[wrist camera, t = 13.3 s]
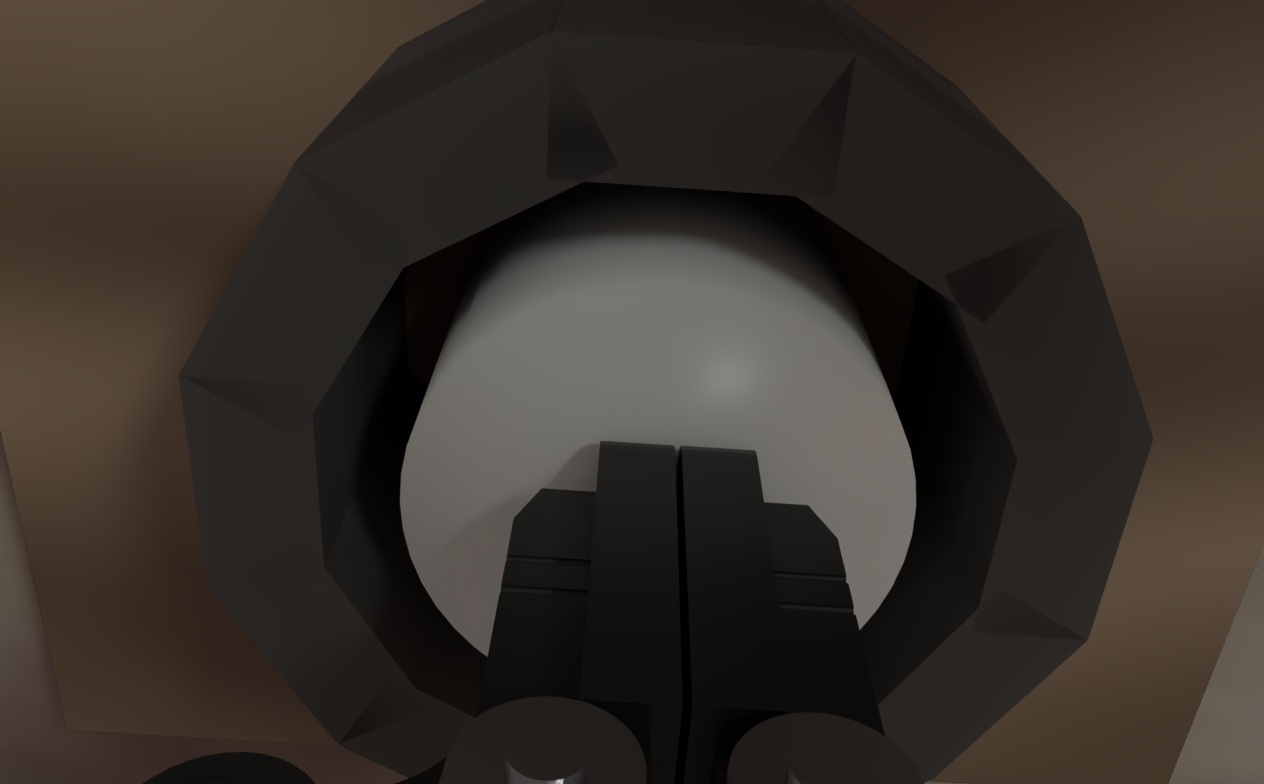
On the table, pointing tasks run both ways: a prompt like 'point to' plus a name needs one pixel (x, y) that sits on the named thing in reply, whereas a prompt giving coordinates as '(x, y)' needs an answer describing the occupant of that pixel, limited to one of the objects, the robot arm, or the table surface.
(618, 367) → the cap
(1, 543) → the table surface
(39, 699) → the table surface
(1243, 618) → the table surface
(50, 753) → the table surface
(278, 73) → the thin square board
